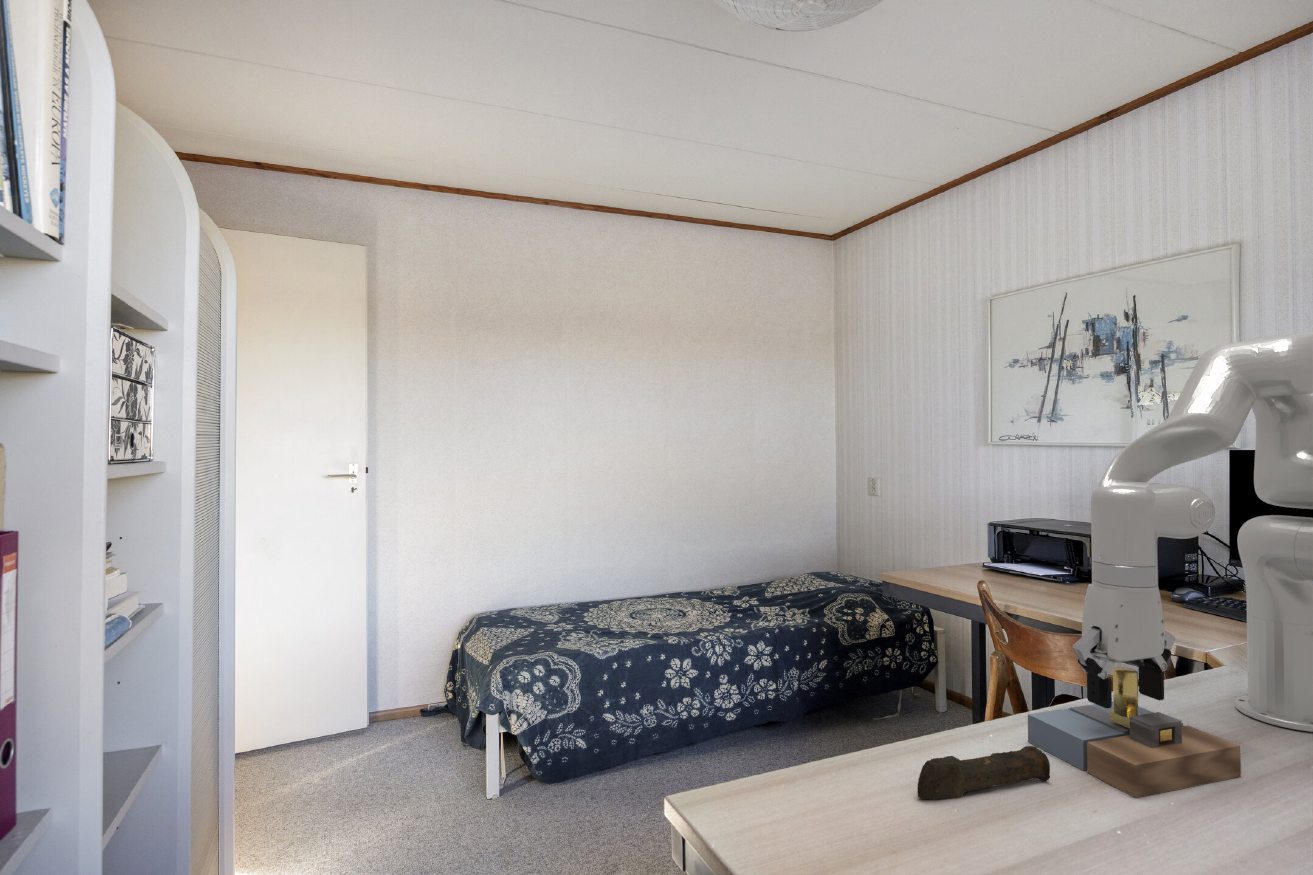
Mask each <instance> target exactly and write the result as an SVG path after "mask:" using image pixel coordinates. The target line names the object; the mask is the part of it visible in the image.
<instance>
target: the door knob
mask: <svg viewBox="0 0 1313 875" xmlns="http://www.w3.org/2000/svg"><path fill="white" fill-rule="evenodd" d="M1112 681H1113V682H1112V683H1113V684H1112V685H1113V686H1112V687H1113V688H1112V689H1113V691H1112V692H1113V693H1112V696H1113V699H1112V700H1113V701H1112V702H1113V705H1114V710H1110V721H1113V722H1115V723H1118V724H1120V725H1122V726H1125V727H1127V728H1129V729H1130V716H1137V715H1138V706H1139V671H1138V670H1136V669H1134V668H1130V667H1126V666H1113V667H1112ZM1167 740H1172V729H1171V728H1163V729H1159V741H1160V742H1161V741H1167Z"/></svg>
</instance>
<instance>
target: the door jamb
mask: <svg viewBox="0 0 1313 875" xmlns="http://www.w3.org/2000/svg"><path fill="white" fill-rule="evenodd" d="M1182 722H1183V721H1182V720H1181V719H1179V718H1178V719H1177V718H1174V717H1172V716H1171V715H1167V714H1165V713H1162V712H1161V711H1157V712H1154V713H1149V714H1143V715H1137V716H1130V735H1127V736H1121V737H1115V738H1109V739H1103V740H1097V741H1091V742H1087V770H1086V772H1087V774H1089V775H1091V776H1093V777H1095V778H1097V779H1098V780H1100V781H1102V782H1104V783H1106V784H1109V785H1110V786H1112V787H1114V788H1116V789H1118V790H1119V791H1121V792H1123V793H1126V794H1128V795H1129V796H1131V797H1133V798H1135V799H1138V798H1143V797H1148V796H1152V795H1157V794H1162V793H1167V792H1172V791H1178V790H1181V789H1187V788H1191V787H1192V788H1193V787H1196V786H1202V785H1206V784H1211V783H1216V782H1222V781H1226V780H1230V779H1231V780H1232V779H1236V778H1241V776H1242V765H1241V764H1242V763H1241V762H1242V760H1241V759H1242V756H1241V744H1240V745H1239V744H1237V743H1235V742H1232V741H1229V740H1227V739H1223V738H1222V737H1218V736H1216V735H1213V734H1211V733H1209V732H1205V731H1203V730H1201V729H1199V728H1196V727H1192V726H1191V725H1188V724H1187V725H1183V726H1182ZM1163 728H1171V729H1172V740H1167V741H1161V742H1160V741H1159V729H1163Z"/></svg>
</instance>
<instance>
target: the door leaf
mask: <svg viewBox="0 0 1313 875" xmlns="http://www.w3.org/2000/svg"><path fill="white" fill-rule="evenodd" d="M1110 710H1114V705H1113V701H1112V706H1111V708H1104V707H1101V706H1099V705H1097V704H1094V703H1092V704H1085V705H1079V706H1073V707H1071V706H1070V707H1069V708H1068V707H1067V708H1062V709H1054V710H1047V711H1042V712H1041V711H1040V712H1033V713H1028V714H1027V742H1028V743H1030V744H1031V745H1032V746H1033V745H1034V747H1037V748H1039V749H1041V750H1043V751H1045V752H1047V753H1049V754H1051V755H1053V756H1054V757H1056V758H1058V759H1061V760H1062V761H1064V762H1066V763H1068V764H1070V765H1072V766H1074V767H1075V768H1077V769H1079V770H1082V771H1087V742H1091V741H1097V740H1103V739H1109V738H1115V737H1121V736H1127V735H1130V729H1129V728H1127V727H1125V726H1122V725H1120V724H1118V723H1115V722H1113V721H1110ZM1149 713H1155V712H1154V711H1151V710H1149V709H1146V708H1143V707H1140V706H1139V705H1138V715H1143V714H1149ZM1182 726H1184V723H1182Z"/></svg>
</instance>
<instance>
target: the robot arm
mask: <svg viewBox="0 0 1313 875" xmlns="http://www.w3.org/2000/svg"><path fill="white" fill-rule="evenodd" d="M1196 361H1197V362H1196V363H1195V366H1194V367H1193V369H1192V371H1191V373H1190V375H1189V377H1188V379H1187V380H1186V381H1185V384H1184V387H1183V388H1182V390H1181V391H1180V394H1179V396H1178V398H1177V400H1176V402H1175V404H1174V405H1173V408H1172V409H1171V411H1170V413H1169V416H1168V417H1167V418H1166V419H1165V420H1164V421H1163V422H1160V423H1159V424H1157V425H1156V426H1153V428H1151V429H1150V430H1148V431H1146V432H1145V433H1144V434H1142V435H1140V436H1139V437H1138V438H1136V439H1134V440H1133V441H1132V442H1130V443H1129V444H1127V445H1126V446H1125V447H1123V449H1121V450H1120V451H1119V452H1118V453H1117V454H1116V455H1115V456H1114V458H1113V459H1112V460H1111V461H1110V463H1109V464H1108V466H1107V469H1105V472H1104V474H1103V476H1102V478H1101V480H1100V481H1099V483H1098V485H1097V488H1095V489H1094V490H1093V491H1092V493H1091V496H1090V498H1091V500H1090V512H1091V513H1090V519H1091V520H1090V521H1091V522H1090V524H1091V528H1090V529H1091V534H1090V536H1091V583H1089V584H1088V585H1087V588H1086V593H1085V597H1084V602H1083V603H1084V604H1083V612H1082V621H1081V622H1082V624H1081V638H1080V639H1078V640H1077V641H1076V642H1074V644H1073V645H1072V649H1073V652H1074V654H1075V657H1076V658H1077V662H1078V664H1079V665H1080V666H1081V667H1082V672H1084V673H1085V674H1086V699H1087V701H1088V702H1090V703H1092V704H1097V705H1099V706H1101V707H1104V708H1111V706H1112V702H1113V701H1112V700H1113V699H1112V696H1113V693H1112V692H1113V691H1112V689H1113V688H1112V687H1113V686H1112V685H1113V684H1112V683H1113V682H1112V678H1109V677H1108V676H1109V675H1110V672H1111V671H1112V670H1113V668H1114V665H1115V663H1125V662H1135V661H1140V662H1141V663H1142V664H1138V669H1137V671H1138V693H1140V694H1141V695H1143V696H1145V697H1149V698H1150V699H1154V700H1157V701H1159V702H1160V701H1164V700H1165V671H1167V670H1168V663H1167V662H1168V661H1169V659H1170V658H1171V656H1172V649H1173V646H1174V643H1175V641H1176V637H1175V635H1173V634H1172V633H1170V632H1168V631H1167V630H1166V629H1165V622H1164V611H1163V604H1162V603H1163V602H1162V598H1161V593H1160V589H1159V569H1158V568H1159V567H1158V566H1159V564H1158V563H1159V562H1158V538H1161V537H1162V538H1171V539H1180V540H1181V539H1182V540H1183V539H1192V538H1196V537H1198V536H1200V535H1202V534H1205V532H1207V531H1208V530H1209V529H1210V527H1212V525H1213V523H1214V520H1215V517H1216V511H1215V510H1216V508H1215V505H1214V503H1213V500H1212V499H1211V498H1210V496H1209V495H1207V493H1205V492H1204V491H1202V490H1201V489H1200V488H1196V487H1193V486H1190V485H1185V484H1177V483H1175V484H1173V483H1172V484H1171V483H1159V482H1150V481H1151V480H1152V479H1153V478H1154V477H1156V476H1157V475H1159V474H1160V473H1162V472H1164V471H1165V470H1168V469H1171V468H1173V467H1175V466H1180V465H1182V464H1184V463H1188V462H1191V461H1195V460H1197V459H1198V460H1199V459H1201V458H1204V457H1207V456H1211V455H1213V454H1217V453H1219V452H1221V451H1224V450H1226V449H1229V447H1231V446H1232V445H1233V444H1234V443H1235V442H1236V440H1237V438H1238V436H1239V434H1240V432H1241V430H1242V428H1243V426H1244V423H1245V422H1246V420H1247V419H1248V416H1249V414H1250V411H1251V410H1252V412H1253V414H1254V418H1255V445H1254V446H1255V449H1254V450H1255V451H1254V466H1253V468H1254V469H1253V486H1254V491H1255V494H1256V495H1257V497H1258V498H1259V499H1260V500H1261V501H1263V502H1264V503H1266V504H1269V505H1273V506H1276V507H1277V506H1278V507H1284V508H1292V509H1295V508H1296V509H1304V510H1305V509H1308V510H1309V509H1310V510H1313V395H1312V394H1313V330H1312V331H1305V332H1296V333H1288V334H1287V333H1286V334H1278V335H1271V336H1263V337H1258V338H1256V337H1255V338H1251V339H1247V340H1244V341H1233V342H1227V343H1224V344H1219V345H1215V346H1214V347H1211V348H1209V349H1208V350H1206V351H1205V352H1204V353H1203V354H1202V355H1201V356H1200V357H1199V358H1198V360H1196ZM1237 550H1238V555H1239V558H1240V561H1241V565H1242V571H1243V574H1244V582H1245V593H1246V594H1245V595H1246V596H1245V597H1246V645H1247V646H1246V654H1247V657H1246V658H1247V661H1246V662H1247V694H1246V695H1245V694H1244V695H1241V696H1238V697H1236V699H1235V701H1234V703H1235V707H1236V710H1238V711H1239V712H1241V713H1242V714H1243V715H1246V716H1247V717H1249V718H1252V719H1255V720H1257V721H1260V722H1264V723H1267V724H1270V725H1273V726H1277V727H1280V728H1286V729H1291V730H1297V731H1300V732H1301V731H1302V732H1311V733H1313V517H1309V516H1308V517H1305V516H1293V515H1280V514H1279V515H1278V514H1276V515H1274V514H1271V515H1260V516H1256V517H1253V518H1251V519H1248V520H1247V521H1245V522H1244V523H1243V524H1242V526H1241V527H1240V528H1239V530H1238V534H1237ZM1099 660H1100V661H1102V663H1101V665H1100V664H1098V662H1099Z"/></svg>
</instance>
